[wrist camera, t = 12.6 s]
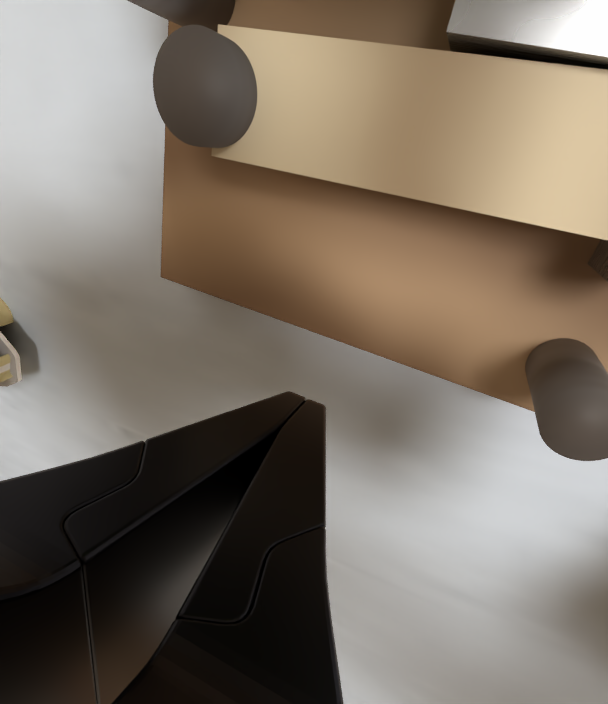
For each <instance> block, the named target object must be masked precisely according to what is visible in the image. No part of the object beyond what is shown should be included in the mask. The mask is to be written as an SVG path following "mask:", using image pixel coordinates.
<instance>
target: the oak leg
mask: <svg viewBox="0 0 608 704" xmlns="http://www.w3.org/2000/svg"><path fill="white" fill-rule="evenodd" d="M153 88H154V96H155V101H156V105H157V108H158V111H159V113H160V115H161V118H162V120H163V121H164V123H165V125H166V126H167V128H168V129H169V130H170V131H171V132H172V134H173V135H174V136H176V137H177V138H178V139H179V140H181V141H182V142H184V143H186V144H188V145H192V146H197V147H209V148H212V154H211V156H215V157H219V158H224V159H229V160H233V161H238V162H243V163H247V164H252V165H257V166H261V167H266V168H271V169H275V170H280V171H285V172H290V173H294V174H299V175H304V176H308V177H313V178H318V179H322V180H327V181H332V182H336V183H341V184H346V185H350V186H355V187H360V188H364V189H369V190H374V191H379V192H383V193H388V194H393V195H397V196H402V197H407V198H411V199H416V200H421V201H425V202H430V203H435V204H439V205H444V206H449V207H453V208H458V209H463V210H468V211H472V212H477V213H482V214H486V215H491V216H496V217H500V218H505V219H510V220H514V221H519V222H524V223H528V224H533V225H538V226H542V227H547V228H552V229H557V230H561V231H566V232H571V233H575V234H580V235H585V236H589V237H594V238H599V239H603V240H608V70H607V69H598V68H589V67H581V66H572V65H564V64H555V63H546V62H538V61H529V60H521V59H512V58H503V57H495V56H486V55H477V54H469V53H460V52H452V51H443V50H434V49H426V48H417V47H409V46H400V45H391V44H383V43H374V42H366V41H357V40H348V39H340V38H331V37H323V36H314V35H305V34H297V33H288V32H280V31H271V30H262V29H254V28H245V27H237V26H228V25H219V24H218V33H217V32H215V31H213V30H211V29H209V28H207V27H205V26H201V25H186V26H183V27H181V28H179V29H177V30H175V31H174V32H173V33H172V34H170V35H169V36H168V38H167V39H166V40H165V41H164V43H163V45H162V46H161V48H160V50H159V52H158V55H157V58H156V62H155V66H154V74H153Z"/></svg>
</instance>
